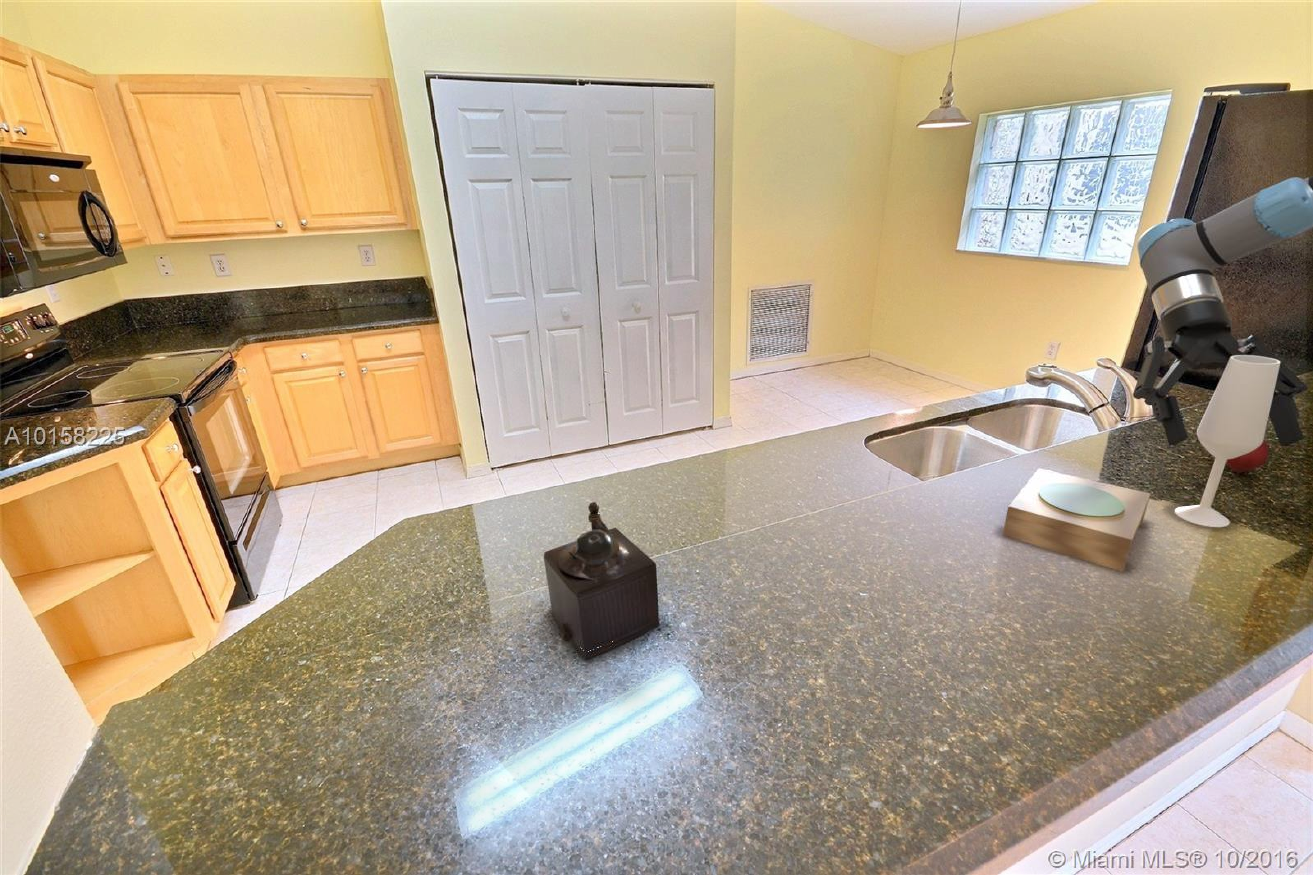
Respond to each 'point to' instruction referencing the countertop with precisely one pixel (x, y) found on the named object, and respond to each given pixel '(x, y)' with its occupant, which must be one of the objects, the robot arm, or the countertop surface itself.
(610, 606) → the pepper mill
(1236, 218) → the robot arm
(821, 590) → the countertop surface
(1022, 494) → the wooden display base
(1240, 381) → the champagne flute
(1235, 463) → the onion
